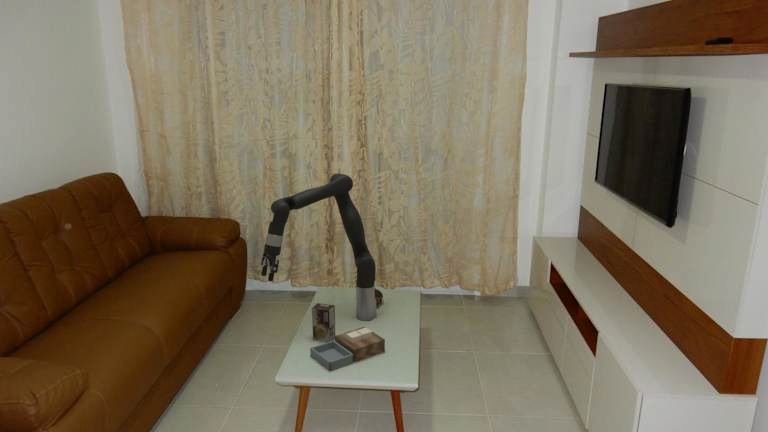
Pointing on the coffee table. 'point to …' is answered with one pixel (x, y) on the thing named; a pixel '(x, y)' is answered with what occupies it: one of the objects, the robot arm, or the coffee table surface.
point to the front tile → (353, 336)
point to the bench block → (362, 345)
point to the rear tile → (365, 333)
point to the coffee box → (323, 322)
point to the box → (332, 355)
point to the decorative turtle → (378, 296)
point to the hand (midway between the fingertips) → (266, 278)
